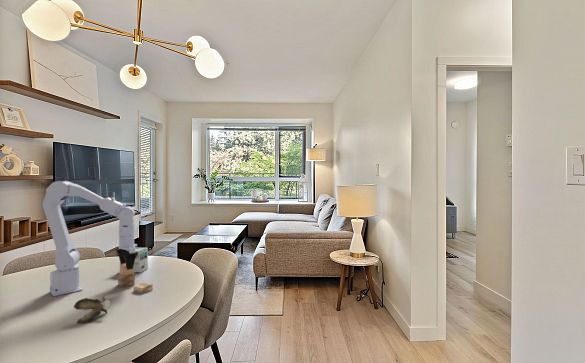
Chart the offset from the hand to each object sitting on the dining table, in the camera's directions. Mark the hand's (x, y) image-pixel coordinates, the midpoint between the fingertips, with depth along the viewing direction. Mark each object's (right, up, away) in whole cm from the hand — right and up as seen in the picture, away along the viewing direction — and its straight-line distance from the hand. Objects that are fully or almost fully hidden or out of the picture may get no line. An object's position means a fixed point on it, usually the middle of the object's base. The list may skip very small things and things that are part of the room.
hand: (126, 267), depth 132 cm
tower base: (0, -8, 0) cm, 8 cm away
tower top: (0, -5, 0) cm, 5 cm away
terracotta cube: (0, -3, 0) cm, 3 cm away
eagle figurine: (+5, -8, -30) cm, 32 cm away
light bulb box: (-7, -7, +20) cm, 22 cm away
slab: (+10, -8, -7) cm, 14 cm away
